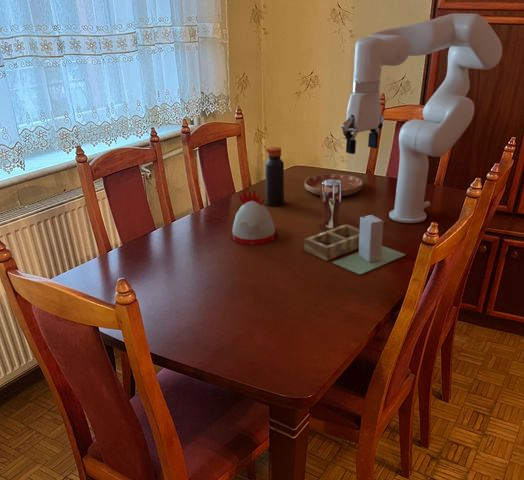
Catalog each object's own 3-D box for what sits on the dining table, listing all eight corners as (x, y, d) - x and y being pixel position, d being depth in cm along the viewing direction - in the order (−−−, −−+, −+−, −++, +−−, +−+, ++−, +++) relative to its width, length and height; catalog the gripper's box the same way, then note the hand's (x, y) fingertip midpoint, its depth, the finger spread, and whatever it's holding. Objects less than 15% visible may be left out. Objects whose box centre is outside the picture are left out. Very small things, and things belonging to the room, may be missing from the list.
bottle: (287, 202, 205) (287, 147, 194) (278, 207, 200) (277, 151, 189) (271, 199, 208) (271, 145, 197) (262, 204, 203) (261, 149, 192)
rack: (345, 235, 176) (346, 224, 174) (368, 244, 170) (369, 232, 167) (304, 251, 167) (304, 238, 164) (326, 260, 160) (327, 248, 158)
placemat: (377, 244, 169) (377, 243, 169) (405, 255, 162) (406, 254, 162) (332, 263, 159) (332, 262, 159) (360, 275, 152) (360, 274, 151)
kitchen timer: (238, 227, 185) (236, 183, 176) (278, 229, 182) (277, 184, 174) (228, 243, 173) (225, 197, 165) (270, 245, 171) (269, 198, 163)
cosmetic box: (381, 260, 159) (385, 220, 152) (368, 263, 157) (371, 223, 150) (369, 252, 163) (373, 213, 157) (356, 255, 162) (359, 216, 155)
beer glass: (339, 231, 179) (341, 185, 171) (318, 230, 181) (319, 185, 172) (340, 223, 185) (343, 179, 177) (320, 222, 186) (321, 178, 178)
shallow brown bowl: (300, 183, 224) (300, 174, 222) (354, 180, 226) (354, 171, 224) (310, 201, 205) (310, 191, 203) (369, 197, 207) (369, 188, 205)
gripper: (376, 83, 160) (371, 143, 170) (335, 90, 151) (332, 153, 161) (396, 85, 155) (390, 147, 165) (355, 92, 146) (351, 157, 156)
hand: (361, 150), depth 163 cm, fingers open, 9 cm apart
